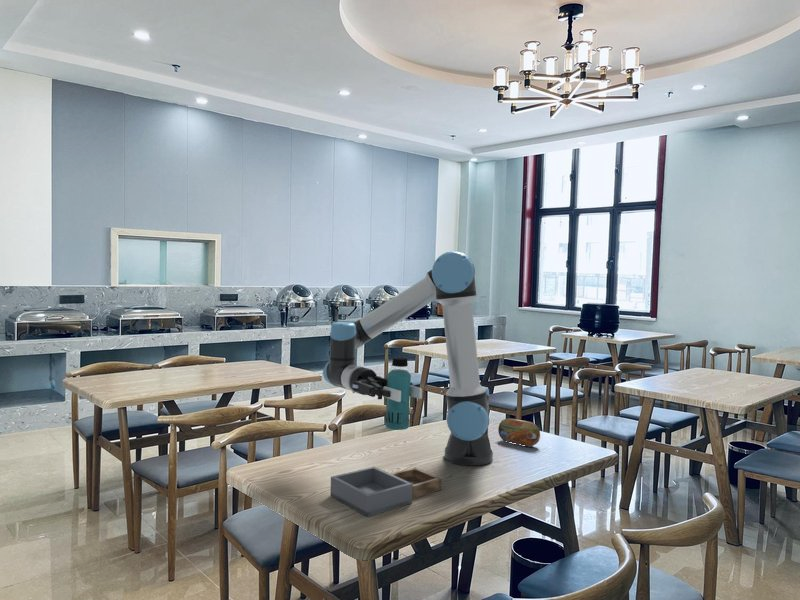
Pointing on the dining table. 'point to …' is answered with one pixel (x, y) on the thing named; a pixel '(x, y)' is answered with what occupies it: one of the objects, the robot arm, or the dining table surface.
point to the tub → (371, 490)
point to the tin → (519, 432)
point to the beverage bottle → (396, 410)
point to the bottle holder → (427, 481)
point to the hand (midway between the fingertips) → (410, 395)
